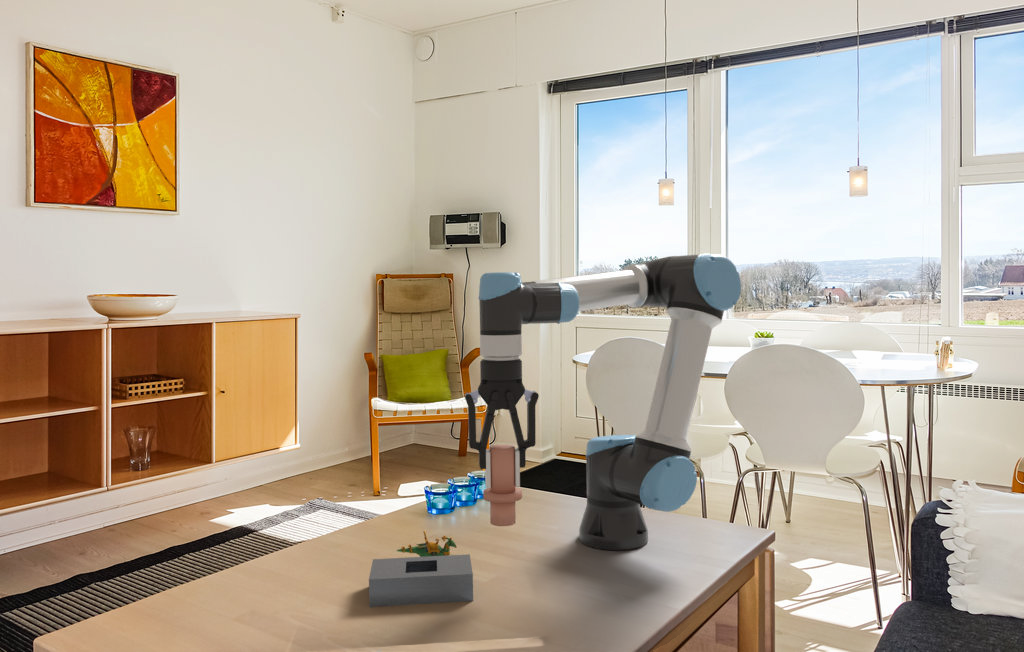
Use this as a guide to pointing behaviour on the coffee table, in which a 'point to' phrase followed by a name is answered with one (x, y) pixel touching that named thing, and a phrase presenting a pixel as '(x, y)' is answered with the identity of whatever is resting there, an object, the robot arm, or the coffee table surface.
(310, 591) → the coffee table surface
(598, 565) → the coffee table surface
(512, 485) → the flanged shaft
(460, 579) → the housing
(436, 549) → the figurine
